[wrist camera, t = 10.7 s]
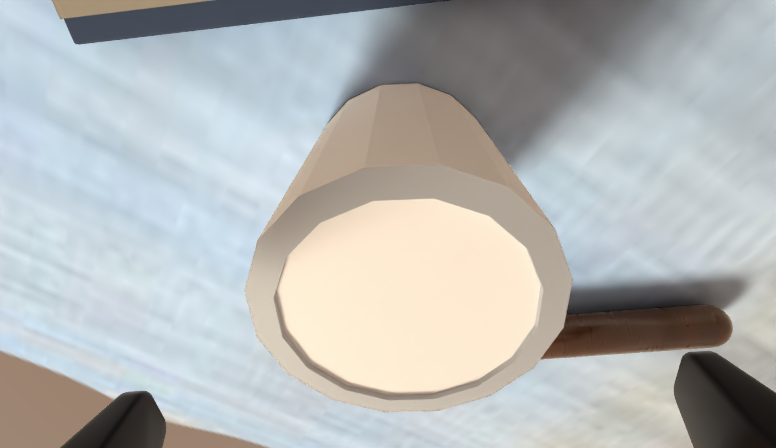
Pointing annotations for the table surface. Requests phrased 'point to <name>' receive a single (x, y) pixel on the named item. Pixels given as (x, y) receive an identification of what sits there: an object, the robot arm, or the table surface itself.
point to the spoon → (641, 331)
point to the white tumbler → (407, 260)
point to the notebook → (193, 14)
